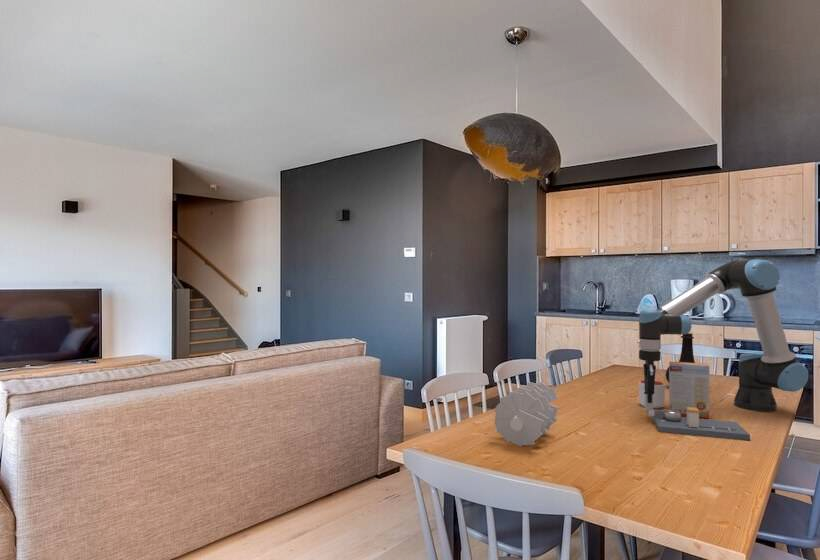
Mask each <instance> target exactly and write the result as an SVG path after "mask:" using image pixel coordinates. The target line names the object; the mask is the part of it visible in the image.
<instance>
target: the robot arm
mask: <svg viewBox="0 0 820 560" xmlns="http://www.w3.org/2000/svg"><path fill="white" fill-rule="evenodd" d="M780 279H781V273H780V271H779V269H778V267H777V265H776V264H774V263H773V262H771V261H770V260H765V259H756V258H755V259H743V260H731V261H729V262H727V263H726V262H725V263H724V264H722V265H720V266H719V267H716V268H715V269H714V270H712V271H709V272H708V273H707V274H705V275H704V278H703V279H702V280H701V281H699V282H698V283H696V284H694V285H693V286H691V287H690V288H688V289H687V290H685V291H683V292H682V293H681V294H679V295H677V296H676V297H674V298H672V299H670V300H669V301H668V302H666V303H664V304H663V305H661V306H660V307H658V308H657V309H642V310H640V312H639V317H638V318H639V320H638V323H639V325H638V328H639V331H638V332H639V333H638V334H639V335H638V336H639V337H638V338H639V340H637V344H638V348H639V350H638V359H639V360H640V361H641V360H642V361H644V362H645V363H643V367H642V368H643V374H644V375H643V376H644V377H643V378H644V379H643V381H644V383H645V388H644V389H645V392H644V394H645V406H644V410H645V411H646V412H648V409H652V410H654V408H653V394H654V385H655V381H656V373H657V371H656V368H657V367H656V365H655V362H659V361H661V351H660V350H661V349H662V348H661V347H662V345H661V344H662V341H661V340H662V339H661V338H662V337H661V336H662V335H679V336H682V335H683V334H689V333H691V330H692V321H691V319H690V318H689V317H688V316H687V315H685V314H687V313H688V312H690V311H692V310H693V309H694V308H696V307H697V306H699V305H701V304H702V303H704V302H705V301H707V300H708V299H710V298H712V297H714V296H715V295H717V294H719V295H721V294H723V293H724V292H727V291H729V290H733V289H737V290H738V289H739V290H740V293H741V297H742V298H745V299H747V302H748V305H749V308H750V311H751V312H750V313H751V315H752V318H753V322H754V325H755V328H756V332H757V335H758V339H759V342H760V345H761V349H762V352H763V353H741V354H740V355H739V358H738V359H739V360H738V389H737V392H736V394H735V397H734V399H733V405H734V406H736V407H738V408H741V409H744V410H745V409H746V410H749V411H757V412H775V411H777V410H778V404H777V402H776V399H775V396H774V393H773V388H774V389H778V390H781V391H784V392H791V393H794V392H799V391H800V390H802V389H804V387H805V386H806V384H807V383H808V382H809V381H808V380H809V370H808V368H807V366H805V365H804V364H802V363H800V362H798V358H797V355H796V354H795V353H794V352H792V351H790V347H789V344H788V342H787V338H786V334H785V331H784V327H783V324H782V320H781V317H780V313H779V311H778V310H779V309H778V306H777V303H776V300H775V296H774V294H775V293H776V291H777V286H778V285H779V283H780V281H779V280H780Z"/></svg>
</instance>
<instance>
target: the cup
mask: <svg viewBox="0 0 820 560" xmlns="http://www.w3.org/2000/svg"><path fill="white" fill-rule="evenodd" d="M644 388H645V383H644V380H640V381H638V403H639V405H641V406H642V407H645V394H644V392H645V389H644ZM665 390H666V383H664V382H662V381H656V380H655V385H654V394H653V409H662V408H664V407H665V404H666V403H665V402H666V391H665Z"/></svg>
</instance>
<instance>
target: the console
mask: <svg viewBox="0 0 820 560" xmlns="http://www.w3.org/2000/svg"><path fill="white" fill-rule="evenodd" d="M651 419H652V420H653V421H652V420H651V421H652V422H653V424H654V426H655V428H656V427H657V428H656V429H658V430H657V431H658V432H659V433H664V432H667V434H675V433H678V434H677V435H685V434H687V436H696V435H698V436H699V437H707V436H709V437H708V438H717V437H718V438H719V439H728V440H729V439H730V440H741V441H751V434H750V433H749V432H748V431H747V430H745V429H744V427H742V426H741V425H740V424H739V423H738V422H737V421H728V420H718V419H717V420H716V419H708V418H699V428H698V427H689V426H688V425H687V417H685V416H681V421H678V422H675V421H668V420H665V419H663V417H659V416H651Z"/></svg>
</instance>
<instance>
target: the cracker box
mask: <svg viewBox="0 0 820 560" xmlns="http://www.w3.org/2000/svg"><path fill="white" fill-rule="evenodd" d="M668 364H669V365H668V367H669V383H668V400H669V401H668V409H673V410H678V411H680V412H681V417H687V407H693V408H697V409H698V410H699V419H710V365H709V364H708V363H698V362H697V363H696V362H695V363H687V362H679V361H669V362H668Z"/></svg>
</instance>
